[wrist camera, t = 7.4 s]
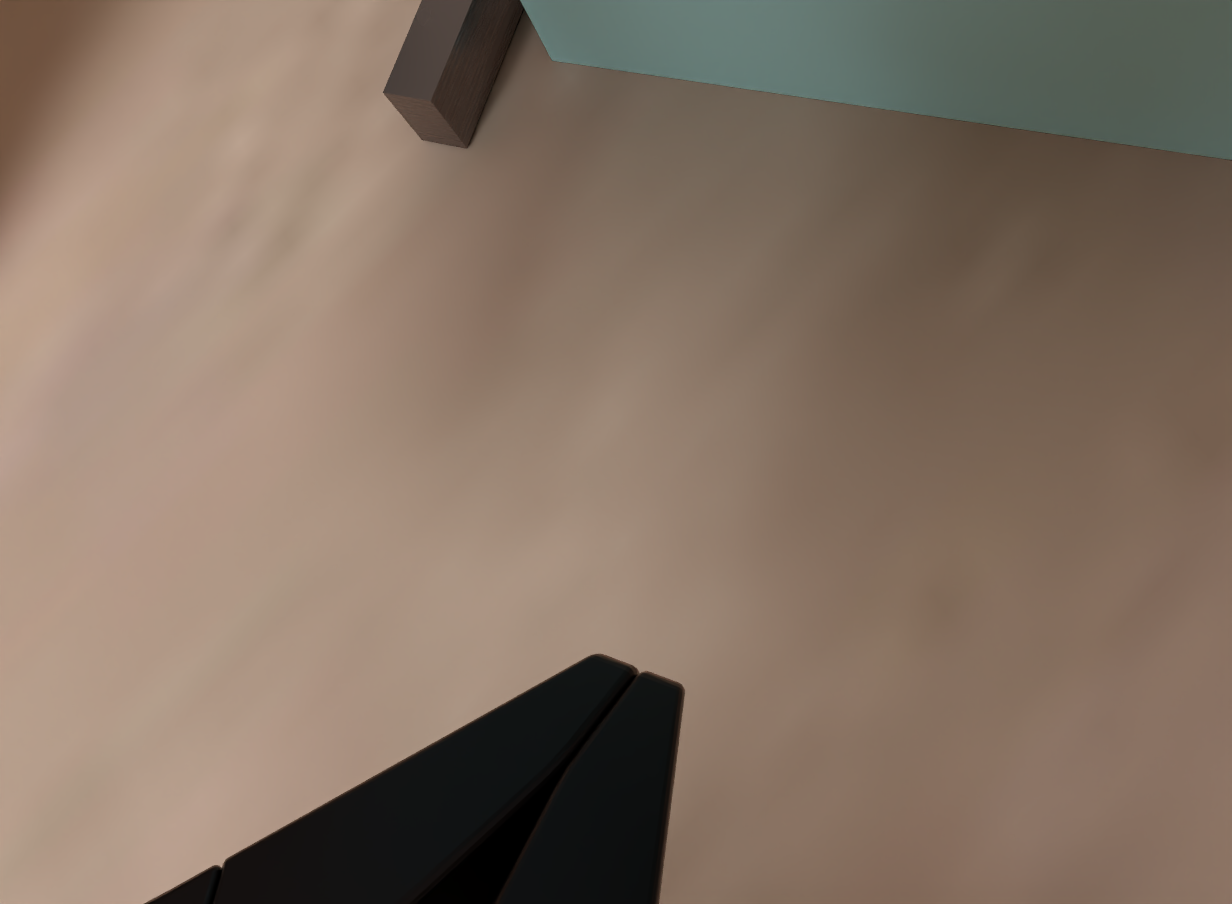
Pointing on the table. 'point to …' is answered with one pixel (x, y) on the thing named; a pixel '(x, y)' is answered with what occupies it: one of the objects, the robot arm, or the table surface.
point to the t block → (937, 58)
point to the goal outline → (451, 65)
